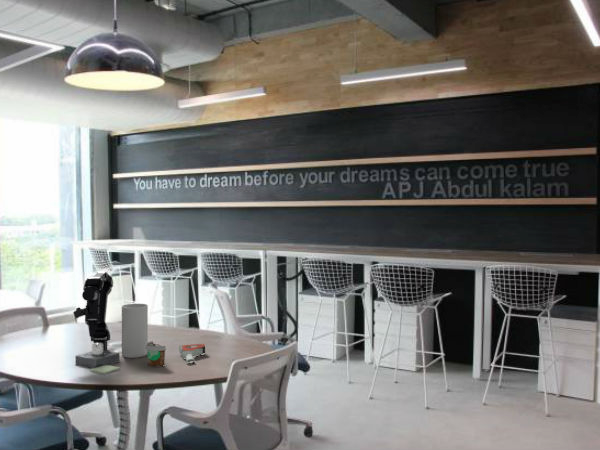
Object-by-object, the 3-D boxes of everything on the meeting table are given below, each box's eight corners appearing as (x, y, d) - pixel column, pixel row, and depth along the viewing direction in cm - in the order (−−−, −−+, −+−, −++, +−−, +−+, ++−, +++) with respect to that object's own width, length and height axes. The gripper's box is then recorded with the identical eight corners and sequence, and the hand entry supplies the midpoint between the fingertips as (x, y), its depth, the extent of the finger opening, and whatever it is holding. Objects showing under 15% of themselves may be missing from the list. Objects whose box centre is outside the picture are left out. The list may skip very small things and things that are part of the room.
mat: (106, 366, 263) (106, 364, 263) (119, 369, 258) (119, 367, 258) (90, 371, 255) (90, 369, 255) (104, 374, 250) (104, 372, 250)
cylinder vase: (117, 354, 284) (117, 305, 283) (141, 350, 292) (141, 302, 291) (127, 359, 274) (127, 308, 274) (151, 355, 282) (151, 306, 282)
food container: (140, 363, 267) (140, 343, 267) (152, 361, 272) (152, 341, 271) (154, 369, 259) (154, 347, 258) (165, 366, 263) (165, 345, 263)
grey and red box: (189, 368, 266) (216, 356, 283) (189, 358, 266) (216, 346, 283) (162, 361, 275) (190, 350, 292) (162, 351, 275) (190, 340, 292)
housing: (99, 357, 279) (99, 349, 278) (119, 361, 272) (119, 352, 272) (75, 363, 266) (75, 355, 266) (96, 368, 260) (96, 359, 259)
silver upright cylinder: (98, 360, 272) (98, 342, 272) (105, 362, 270) (105, 343, 270) (89, 363, 268) (89, 344, 268) (97, 364, 266) (97, 345, 265)
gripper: (75, 304, 276) (72, 337, 272) (74, 300, 259) (72, 335, 256) (99, 305, 280) (97, 337, 276) (100, 301, 263) (98, 334, 259)
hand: (91, 336), depth 267 cm, fingers open, 9 cm apart
